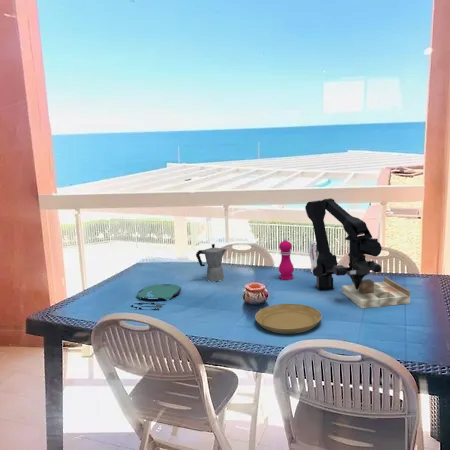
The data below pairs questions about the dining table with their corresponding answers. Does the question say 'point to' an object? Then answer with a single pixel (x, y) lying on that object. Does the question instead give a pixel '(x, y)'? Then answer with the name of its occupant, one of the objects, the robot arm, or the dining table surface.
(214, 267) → the coffeepot
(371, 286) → the walnut block
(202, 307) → the dining table surface
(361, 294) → the beige sorting tray
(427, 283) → the dining table surface
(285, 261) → the pepper mill
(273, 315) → the plant saucer
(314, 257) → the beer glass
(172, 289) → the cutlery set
